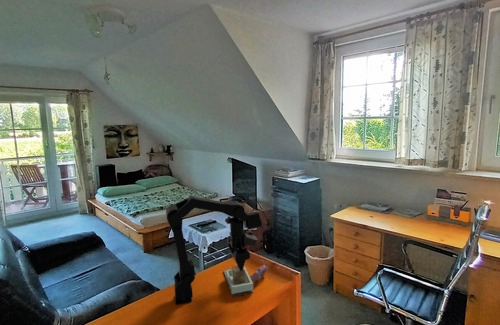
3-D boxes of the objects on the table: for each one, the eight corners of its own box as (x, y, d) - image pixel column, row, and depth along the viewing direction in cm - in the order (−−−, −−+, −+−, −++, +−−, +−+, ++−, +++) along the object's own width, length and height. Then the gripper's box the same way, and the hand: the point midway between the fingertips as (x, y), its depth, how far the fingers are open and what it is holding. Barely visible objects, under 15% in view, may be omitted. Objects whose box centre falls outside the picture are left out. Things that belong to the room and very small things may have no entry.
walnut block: (235, 284, 125) (234, 271, 124) (232, 278, 130) (232, 266, 129) (245, 282, 127) (244, 269, 126) (242, 277, 131) (242, 264, 130)
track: (232, 296, 121) (232, 295, 121) (223, 271, 140) (223, 270, 140) (253, 292, 124) (253, 290, 124) (241, 268, 143) (241, 267, 142)
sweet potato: (254, 287, 130) (260, 276, 127) (246, 280, 132) (252, 269, 129) (265, 276, 138) (271, 266, 135) (258, 270, 140) (263, 259, 137)
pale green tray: (232, 295, 121) (231, 287, 120) (226, 277, 134) (225, 270, 133) (253, 291, 123) (253, 283, 123) (245, 274, 136) (244, 267, 135)
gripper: (262, 237, 117) (263, 273, 120) (249, 220, 135) (250, 252, 138) (234, 241, 115) (236, 278, 117) (225, 224, 132) (227, 256, 135)
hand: (238, 265), depth 127 cm, fingers open, 9 cm apart
